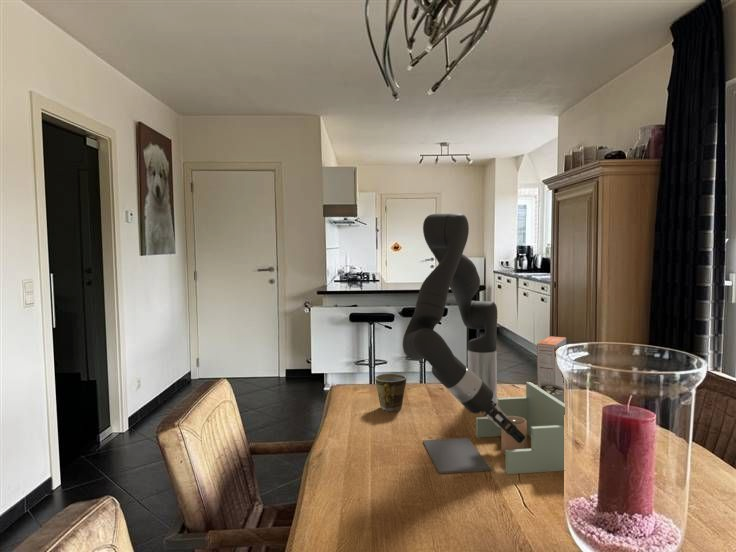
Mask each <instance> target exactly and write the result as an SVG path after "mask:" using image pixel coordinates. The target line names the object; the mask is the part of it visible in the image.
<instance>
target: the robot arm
mask: <svg viewBox="0 0 736 552" xmlns="http://www.w3.org/2000/svg"><path fill="white" fill-rule="evenodd" d="M469 227H470V226H469V221H468V218H467V216H466V215H465V214H464V213H456V212H455V213H453V212H451V213H440V212H439V213H433V214H429V215H428V216H426V218H425V219H424V220H423V224H422V233H423V237H424V240H425V243H426V245H427V247H428V248H429V250H430V252H431V253H432V255H433V257H434V258H435V259H436V260H437V262H438V265H436V267H435V268H434V269H433V270H432V271H431V272H430V273H429V274H428V275H427V277H426V278H425V279H424V280H423V282H422V284H421V286H420V288H419V292H418V295H417V299H416V303H415V307H414V312H413V314H412V317H411V318H410V321H409V322H408V325H407V327H406V330H405V331H404V335H403V338H402V349H403V353H404V355H405V356H406V357H407V358H409V359H410V360H415V361H420V360H426V361H427V362H428V363H429V365H431V373H432V375H433V376H434V377H435V379H436V380H438V382H440V383H441V385H443V386H444V387H445V388H446V390H448V391H449V393H450V394H451V395H452V396H453V397H454V398H455V399H456V400H457V401H458V402H459V403H460V404H461V405H463V406H464V407H465V408H466V409H467V410H468V411H469V412H470V413H471V414H479V413H482V414H483V415H484V417H487V418H488V419H489V420H491V421H493V422H494V423H495V424H496V425H497V426H498V427H502V428H503V429H504V430H505V431H506V433H507V434H509V435H511V436H512V437H513V438H514V439H515V440H516V441H517V442H518V443H521V442H522V441H523V440H524V439H525V436H524V435H523V434H522V433H521V432H520V431H519V430H518V429H517V427H516V426H515V425H514V424H512V423H511V422H510V421H509V420H508V419H509V418H508V416H507V415H506V414H505V413H504V412H503V411H502V410H500V407H499V406H498V382H497V381H498V379H497V377H498V376H497V374H498V373H497V371H498V370H497V337H498V336H497V335H498V334H497V332H498V306H497V304H496V303H495V302H494V301H488V300H487V301H486V300H472V299H473V298H474V296H475V295H476V294H477V292H478V291H479V289H480V286H481V277H480V275H479V272H478V270H477V267H476V265H475V263H474V262H473V261H472V260H471V259H470V258H468V256H467V255H465V254H463V253H464V250H465V248H466V245H467V242H468V239H469V238H468V237H469V231H470V229H469ZM449 290H451V292H452V294H453V297H454V299H455V301H456V303H457V307H458V310H459V314H460V316H461V320H462V323H463V325H464V326H465V327H466V328H468V329H471V330H484V334H483V335H481V336H479V337H477V338H476V337H475V338H472V339H470V340H468V342H467V366H466V365H465V364H464V363H463V362H462V361H461V360H460V359H458V357H456V356H455V355H454V353H453V352H452V350H451V348H450V347H449V345H448V344H447V342H446V341H445V339H444V338H443V337H442V336H441V335H440V334H439V333H438V332H437V331H436V330H434V329H435V327H436V326H437V325H438V324H439V323H440V322H441V321H442V319H443V316H444V312H445V308H446V303H447V299H448V294H449V292H450V291H449ZM502 418H503V419H502ZM508 424H511V425H509V427H508V428H507V429H506V428H505V427H506V426H507V425H508Z"/></svg>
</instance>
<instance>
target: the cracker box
mask: <svg viewBox="0 0 736 552" xmlns="http://www.w3.org/2000/svg"><path fill="white" fill-rule="evenodd" d="M564 345H566V346H567V337H563V336H562V337H561V336H551V335H550V336H548V337H546V338H544V339H543V340H541V341H539V342H537V344H536V366H537V367H536V372H537V373H536V374H537V386H538V387H539V388H541V383H546V384H553V385H557V386H560V387H562V388H564V386H563V384H564V383H563V377H562V374H561V372H560V370H559V368H558V366H557V362H556V357H555V351H556V350H557V349H558V348H559V347H561V346H564Z"/></svg>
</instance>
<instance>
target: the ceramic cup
mask: <svg viewBox="0 0 736 552" xmlns="http://www.w3.org/2000/svg"><path fill="white" fill-rule="evenodd" d="M374 379H375V386H376V390H377V395H378V401H379V406H380V409H381V408H382V409H381V410H383V411H384V410H385V411H384V412H392V411H393V412H396V410H398V411H401V410H402V407H403V402H404V395H405V391H406V390H405V389H406V386H407V385H406V384H407V376H406V375H404V374H401V373H382V374H379V375H378V374H377V375H376V376H375V378H374Z"/></svg>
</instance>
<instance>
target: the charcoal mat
mask: <svg viewBox="0 0 736 552" xmlns="http://www.w3.org/2000/svg"><path fill="white" fill-rule="evenodd" d="M422 443H423V444H424V447H425V448H426V451H427V453H428V454H429V457H430V459H431V461H432V463H433V465H434V467H435V468H436V471H437V470H438V471H437V473H438V472H439V473H438V474H440V473H444V474H455V473H457V474H458V473H471V472H490V471H492V467H491V466H490V465H489V463H488V462H487V461H486V460H485V458H484V456H483V455H482V454H481V453H480V452H479V451H478V449H477V448H476V447H475V445H474V444H473V443H472V442H471V440H470V439H469V437H459V438H458V437H457V438H442V439H424V440H422ZM440 475H441V474H440Z"/></svg>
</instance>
